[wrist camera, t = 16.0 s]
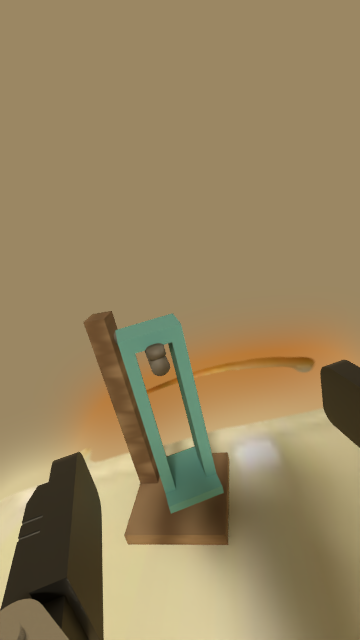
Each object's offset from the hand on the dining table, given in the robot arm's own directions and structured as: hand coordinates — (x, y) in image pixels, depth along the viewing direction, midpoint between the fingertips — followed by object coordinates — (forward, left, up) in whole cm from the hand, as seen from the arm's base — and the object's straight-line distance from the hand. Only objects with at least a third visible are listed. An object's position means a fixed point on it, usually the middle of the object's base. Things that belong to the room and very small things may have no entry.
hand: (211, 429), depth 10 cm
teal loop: (-5, -20, -23) cm, 31 cm away
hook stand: (-5, -23, -28) cm, 36 cm away
